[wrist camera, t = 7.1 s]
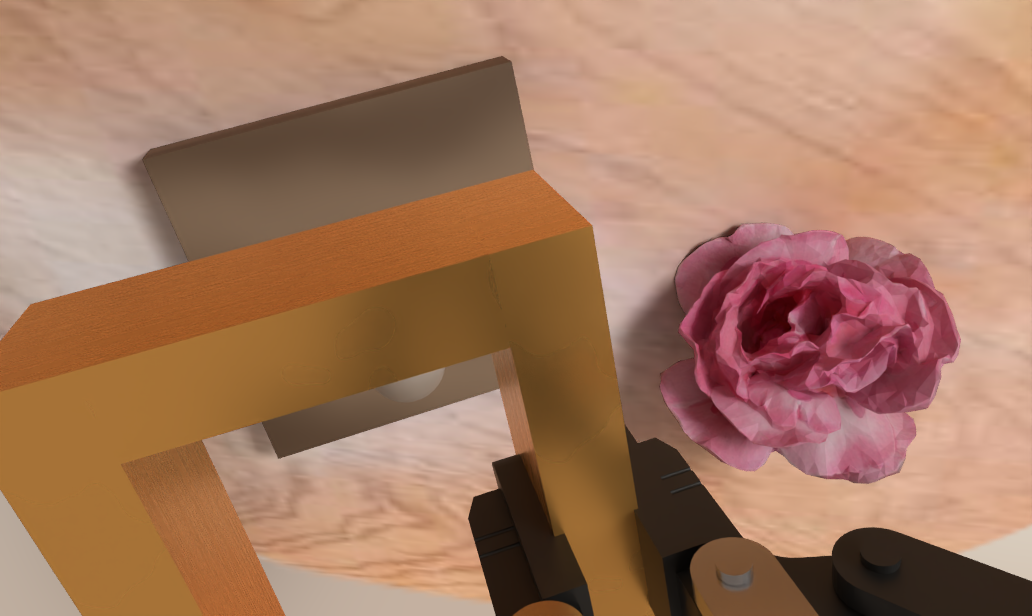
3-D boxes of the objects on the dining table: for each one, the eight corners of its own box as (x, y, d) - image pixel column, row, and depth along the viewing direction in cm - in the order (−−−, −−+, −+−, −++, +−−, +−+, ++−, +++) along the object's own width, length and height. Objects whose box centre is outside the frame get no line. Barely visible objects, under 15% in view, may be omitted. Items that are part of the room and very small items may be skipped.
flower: (618, 249, 37) (746, 178, 28) (787, 254, 40) (951, 192, 31) (640, 492, 35) (787, 503, 26) (816, 474, 38) (1001, 479, 29)
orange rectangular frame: (30, 304, 12) (-54, 406, 9) (533, 169, 13) (592, 225, 10) (290, 777, 17) (285, 929, 14) (627, 656, 18) (681, 777, 15)
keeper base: (150, 149, 27) (75, 243, 18) (502, 56, 28) (583, 103, 20) (279, 438, 33) (268, 610, 24) (564, 348, 34) (647, 480, 26)
